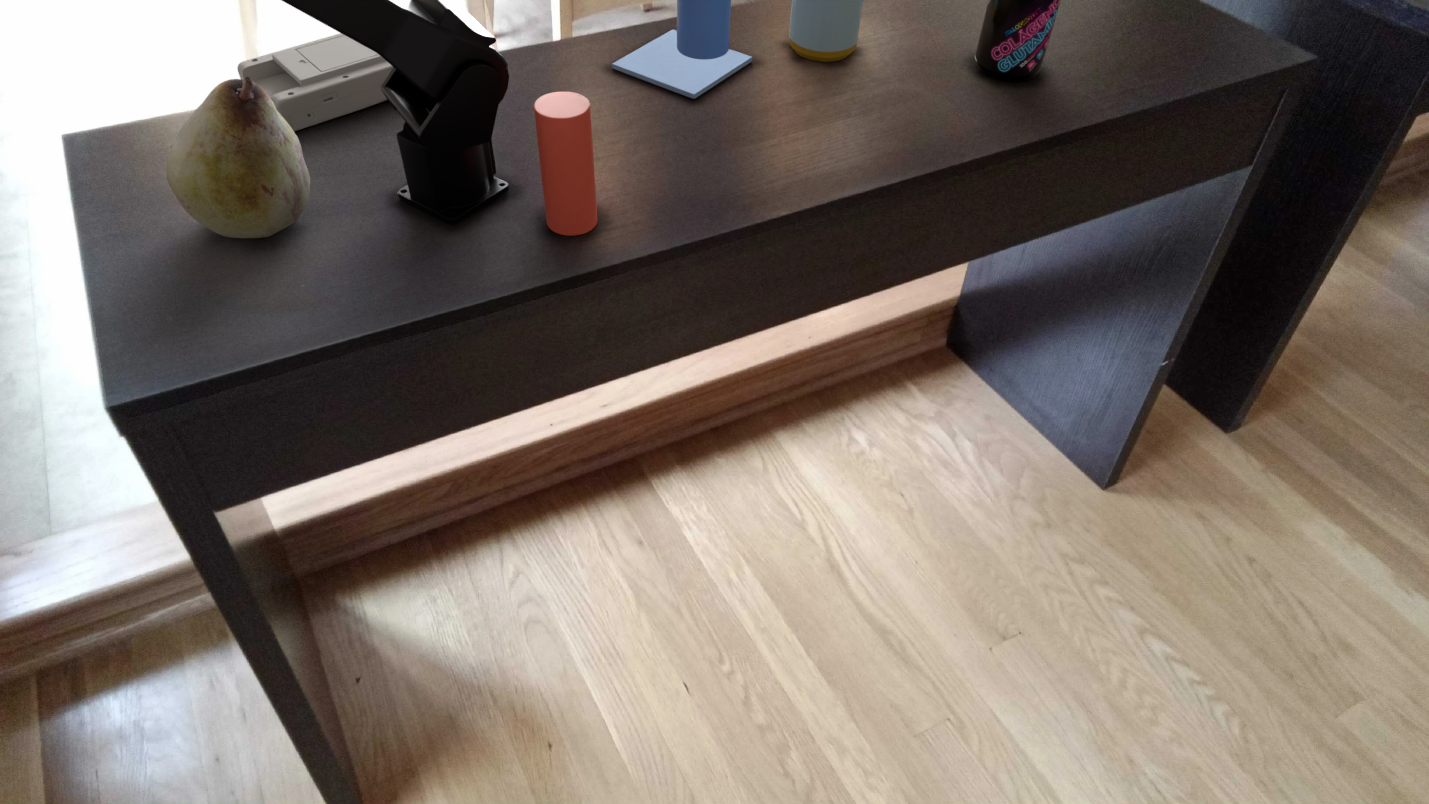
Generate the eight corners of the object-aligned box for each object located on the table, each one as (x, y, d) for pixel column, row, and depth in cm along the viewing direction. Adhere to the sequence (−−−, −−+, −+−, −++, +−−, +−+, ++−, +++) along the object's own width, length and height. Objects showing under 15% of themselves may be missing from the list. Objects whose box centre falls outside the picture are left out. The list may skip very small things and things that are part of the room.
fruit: (328, 248, 72) (282, 100, 63) (193, 273, 69) (126, 123, 60) (315, 178, 78) (271, 36, 70) (191, 198, 76) (130, 53, 67)
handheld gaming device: (383, 14, 92) (392, 52, 94) (231, 57, 85) (246, 97, 87) (429, 47, 87) (437, 85, 90) (273, 96, 80) (286, 136, 83)
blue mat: (694, 99, 90) (694, 94, 89) (611, 68, 94) (611, 63, 93) (752, 61, 96) (752, 56, 95) (672, 33, 99) (672, 29, 99)
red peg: (574, 242, 73) (564, 124, 66) (536, 223, 75) (521, 106, 68) (607, 218, 76) (601, 102, 68) (569, 201, 77) (559, 85, 70)
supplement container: (968, 77, 95) (994, -30, 87) (976, 48, 99) (1001, -56, 92) (1037, 89, 93) (1069, -19, 86) (1042, 59, 98) (1072, -45, 91)
